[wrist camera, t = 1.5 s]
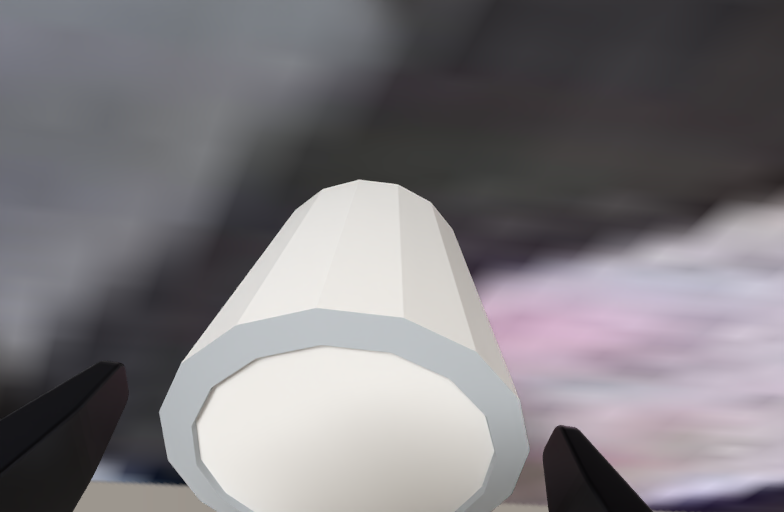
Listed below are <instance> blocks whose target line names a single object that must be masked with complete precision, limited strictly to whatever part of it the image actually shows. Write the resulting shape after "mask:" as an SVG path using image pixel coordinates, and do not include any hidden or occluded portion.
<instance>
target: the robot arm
mask: <svg viewBox="0 0 784 512" xmlns="http://www.w3.org/2000/svg"><path fill="white" fill-rule="evenodd" d="M128 395H129V390H128V383H127V376H126V370H125V366H124V365H123V364H122V363H118V362H111V361H100V362H98V363H96V364H94V365H92V366H91V367H89V368H87V369H86V370H84V371H82V372H81V373H79V374H77V375H75V376H74V377H72V378H70V379H69V380H67V381H65V382H64V383H62V384H60V385H58V386H57V387H55V388H53V389H52V390H50V391H48V392H47V393H45V394H43V395H41V396H40V397H38V398H36V399H35V400H33V401H31V402H30V403H28V404H26V405H24V406H23V407H21V408H19V409H18V410H16V411H14V412H13V413H11V414H9V415H7V416H6V417H4V418H2V419H1V420H0V512H73V510H74V508H75V507H76V505H77V503H78V501H79V500H80V498H81V496H82V495H83V493H84V491H85V490H86V488H87V486H88V484H89V483H90V481H91V479H92V477H93V475H94V473H95V471H96V469H97V467H98V465H99V463H100V461H101V458H102V456H103V454H104V452H105V450H106V447H107V445H108V443H109V441H110V439H111V436H112V434H113V432H114V430H115V428H116V425H117V423H118V421H119V419H120V416H121V414H122V412H123V410H124V408H125V405H126V403H127V400H128ZM543 466H544V475H545V484H546V492H547V501H548V510H549V512H653V511H652V510H651V509H650V508H649V507H648V506H647V504H646V503H645V502H644V501H643V500H642V499H641V498H640V497H639V496H638V494H637V493H636V492H635V491H634V490H633V489H632V488H631V487H630V486H629V484H628V483H627V482H626V481H625V480H624V479H623V478H622V477H621V476H620V475H619V473H618V472H617V471H616V470H615V469H614V468H613V467H612V466H611V465H610V463H609V462H608V461H607V460H606V459H605V458H604V457H603V456H602V455H601V453H600V452H599V451H598V450H597V449H596V448H595V447H594V446H593V445H592V443H591V442H590V441H589V440H588V439H587V438H586V437H585V436H584V435H583V434H582V432H581V431H580V430H578V429H577V428H575V427H570V426H563V425H558V426H557V427H556V428H555V429H554V431H553V433H552V435H551V437H550V439H549V441H548V442H547V444H546V446H545V448H544V452H543Z"/></svg>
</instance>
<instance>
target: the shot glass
mask: <svg viewBox="0 0 784 512" xmlns="http://www.w3.org/2000/svg"><path fill="white" fill-rule="evenodd" d="M159 414H160V419H161V425H162V430H163V436H164V441H165V447H166V452H167V457H168V461H169V462H170V463H171V464H172V466H173V467H174V468H175V469H176V471H177V472H178V473H179V475H180V476H181V477H182V478H183V480H184V481H185V482H186V483H187V485H188V486H189V487H190V489H191V490H192V491H193V492H194V494H195V495H196V496H197V497H198V499H199V500H200V501H201V502H203V503H204V504H206V505H208V506H209V507H211V508H212V509H214V510H215V511H217V512H491V511H493V510H494V509H495V508H496V507H497V506H499V505H500V504H501V503H502V502H503V501H504V500H506V499H507V498H508V497H509V496H510V495H511V494H512V493H513V490H514V488H515V485H516V483H517V480H518V478H519V475H520V473H521V471H522V468H523V466H524V463H525V461H526V458H527V456H528V453H529V451H530V448H529V443H528V438H527V434H526V429H525V424H524V419H523V414H522V409H521V404H520V399H519V397H518V394H517V392H516V389H515V387H514V384H513V382H512V379H511V377H510V374H509V371H508V369H507V366H506V364H505V361H504V359H503V356H502V354H501V351H500V349H499V346H498V344H497V341H496V338H495V336H494V333H493V331H492V328H491V326H490V323H489V321H488V318H487V316H486V313H485V310H484V308H483V305H482V303H481V300H480V298H479V295H478V293H477V290H476V288H475V285H474V283H473V280H472V277H471V275H470V272H469V270H468V267H467V265H466V262H465V260H464V257H463V255H462V252H461V249H460V247H459V244H458V242H457V239H456V237H455V234H454V232H453V229H452V228H451V227H450V226H449V224H448V223H447V222H446V221H445V219H444V218H443V217H442V216H441V214H440V213H439V212H438V211H437V209H436V208H435V207H434V206H433V204H432V203H431V202H429V201H427V200H426V199H424V198H422V197H420V196H418V195H416V194H415V193H413V192H411V191H409V190H407V189H405V188H403V187H402V186H400V185H398V184H390V183H382V182H374V181H365V180H356V181H352V182H349V183H345V184H341V185H337V186H333V187H329V188H325V189H322V190H321V191H320V192H318V193H317V194H316V195H314V196H313V197H312V198H311V199H309V200H308V201H307V202H305V203H304V204H303V205H301V206H300V207H299V208H298V209H296V210H295V211H294V213H293V214H292V215H291V217H290V218H289V219H288V221H287V222H286V223H285V225H284V226H283V227H282V229H281V230H280V231H279V233H278V234H277V235H276V237H275V238H274V239H273V241H272V242H271V243H270V245H269V246H268V247H267V249H266V250H265V251H264V253H263V254H262V255H261V257H260V258H259V260H258V261H257V262H256V264H255V265H254V266H253V268H252V269H251V270H250V272H249V273H248V274H247V276H246V277H245V278H244V280H243V281H242V282H241V284H240V285H239V286H238V288H237V289H236V290H235V292H234V293H233V294H232V296H231V297H230V298H229V300H228V301H227V303H226V304H225V305H224V307H223V308H222V309H221V311H220V312H219V313H218V315H217V316H216V317H215V319H214V320H213V321H212V323H211V324H210V325H209V327H208V328H207V329H206V331H205V332H204V333H203V335H202V336H201V337H200V339H199V340H198V341H197V343H196V344H195V346H194V347H193V348H192V350H191V351H190V352H189V354H188V355H187V356H186V358H185V359H184V360H183V362H182V363H181V365H180V367H179V369H178V371H177V374H176V376H175V378H174V380H173V382H172V385H171V387H170V389H169V391H168V393H167V396H166V398H165V400H164V402H163V405H162V407H161V409H160V411H159Z"/></svg>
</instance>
